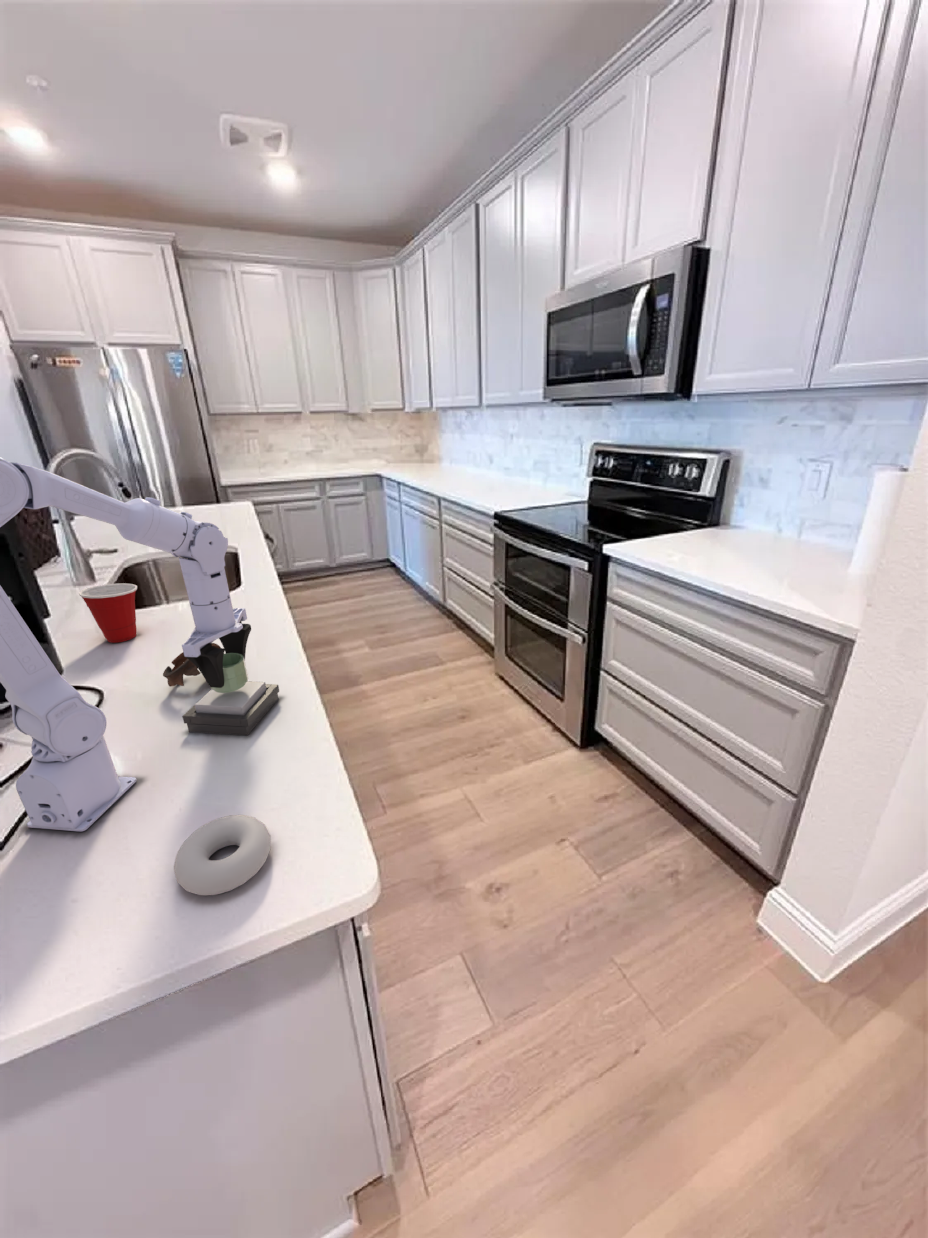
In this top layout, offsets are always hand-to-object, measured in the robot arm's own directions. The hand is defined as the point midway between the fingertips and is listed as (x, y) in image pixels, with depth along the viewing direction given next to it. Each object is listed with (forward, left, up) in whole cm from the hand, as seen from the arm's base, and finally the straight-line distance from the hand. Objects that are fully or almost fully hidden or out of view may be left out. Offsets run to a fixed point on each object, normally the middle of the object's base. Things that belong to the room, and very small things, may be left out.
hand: (227, 676), depth 83 cm
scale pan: (0, 0, -5) cm, 5 cm away
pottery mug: (+10, +12, -8) cm, 17 cm away
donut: (-29, -15, -8) cm, 34 cm away
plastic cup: (+28, +43, -8) cm, 52 cm away
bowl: (0, 0, -2) cm, 2 cm away
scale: (0, 0, -7) cm, 7 cm away
